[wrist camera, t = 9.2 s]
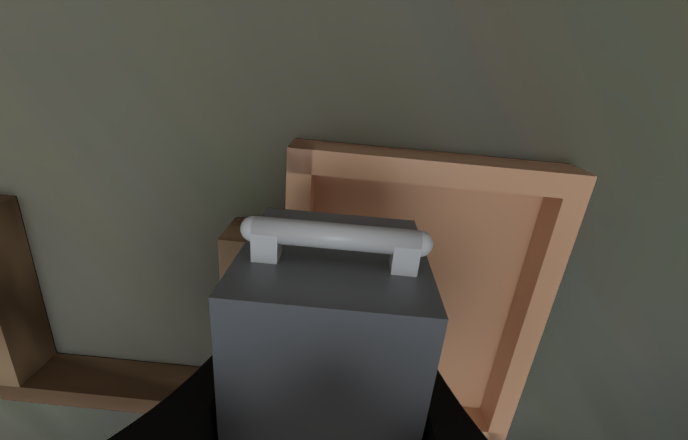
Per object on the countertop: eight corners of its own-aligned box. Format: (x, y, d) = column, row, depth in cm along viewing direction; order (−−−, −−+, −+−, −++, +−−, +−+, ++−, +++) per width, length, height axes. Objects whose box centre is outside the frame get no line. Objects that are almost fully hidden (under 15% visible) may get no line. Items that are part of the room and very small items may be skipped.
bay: (260, 386, 22) (248, 424, 20) (39, 364, 22) (1, 399, 20) (261, 219, 18) (246, 242, 16) (-9, 194, 18) (-63, 212, 16)
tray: (490, 415, 22) (502, 447, 20) (286, 395, 22) (279, 425, 20) (570, 164, 16) (597, 176, 15) (295, 138, 16) (287, 147, 15)
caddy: (380, 426, 15) (389, 584, 11) (267, 415, 15) (226, 568, 11) (419, 190, 11) (458, 274, 7) (268, 176, 11) (205, 250, 7)
